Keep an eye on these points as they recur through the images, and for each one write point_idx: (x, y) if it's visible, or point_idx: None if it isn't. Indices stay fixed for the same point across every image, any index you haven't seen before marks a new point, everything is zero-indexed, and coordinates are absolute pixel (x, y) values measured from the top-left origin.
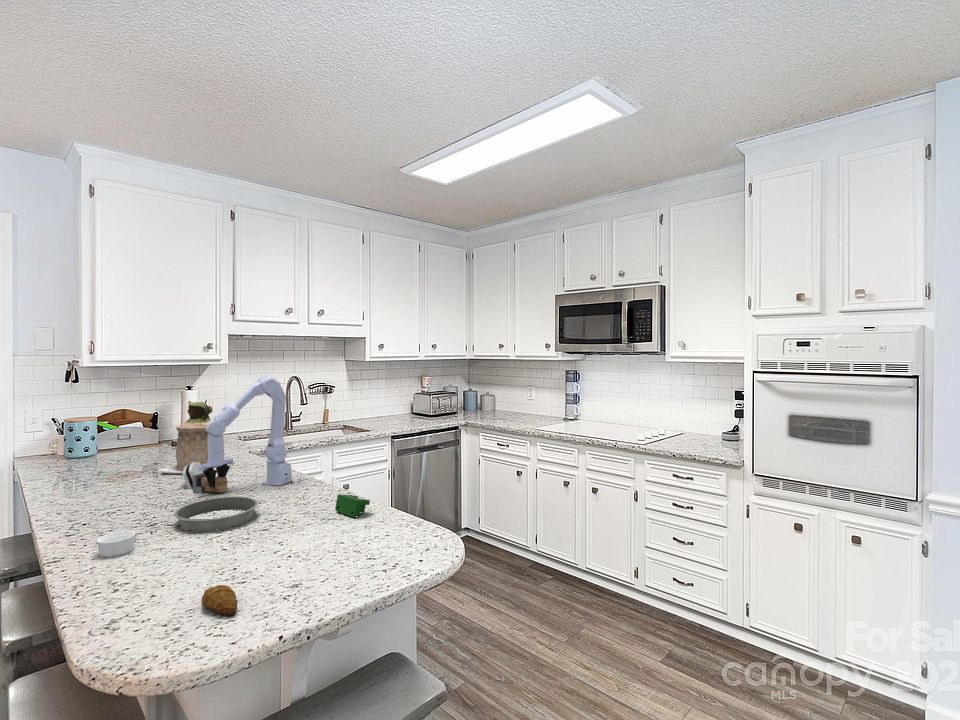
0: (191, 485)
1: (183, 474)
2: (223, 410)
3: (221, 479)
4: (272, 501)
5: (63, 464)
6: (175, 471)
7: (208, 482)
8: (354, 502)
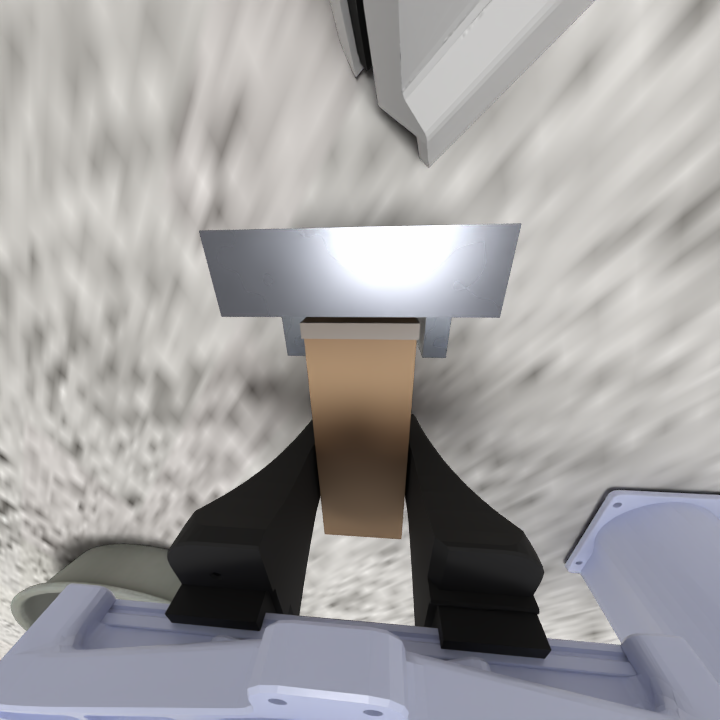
0: (360, 42)
1: None
2: None
3: (348, 530)
4: (363, 618)
5: None
6: None
7: (302, 433)
8: None
